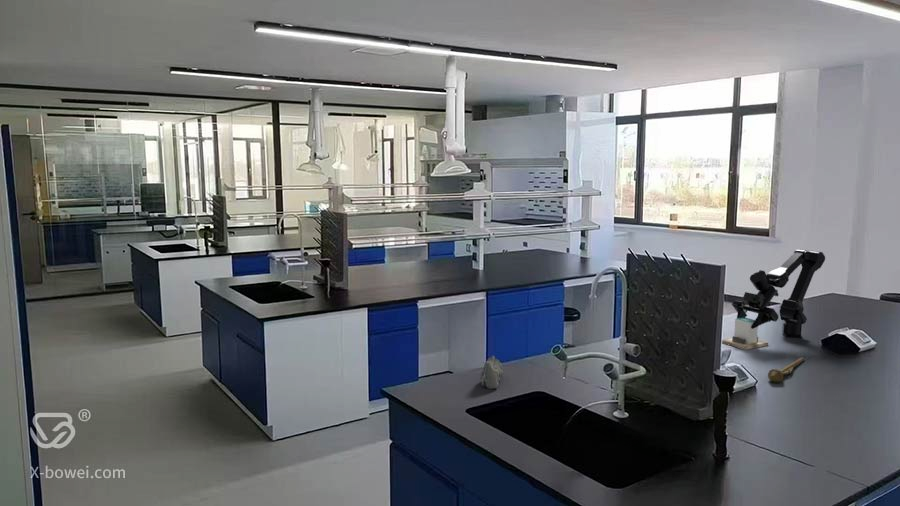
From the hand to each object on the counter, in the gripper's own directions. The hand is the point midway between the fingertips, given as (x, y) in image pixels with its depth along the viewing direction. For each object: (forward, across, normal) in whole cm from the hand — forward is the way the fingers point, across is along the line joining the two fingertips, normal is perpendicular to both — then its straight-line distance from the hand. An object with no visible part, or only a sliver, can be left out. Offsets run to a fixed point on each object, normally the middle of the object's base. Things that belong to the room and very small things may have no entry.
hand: (743, 326), depth 250 cm
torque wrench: (+16, +30, -4) cm, 35 cm away
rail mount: (+5, 0, +6) cm, 8 cm away
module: (+4, 0, +6) cm, 7 cm away
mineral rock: (+87, -7, -76) cm, 116 cm away
